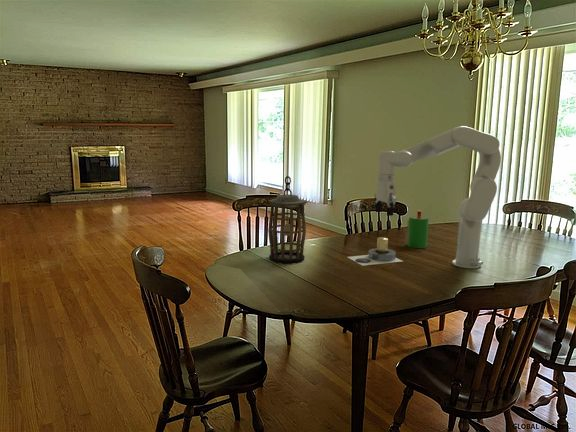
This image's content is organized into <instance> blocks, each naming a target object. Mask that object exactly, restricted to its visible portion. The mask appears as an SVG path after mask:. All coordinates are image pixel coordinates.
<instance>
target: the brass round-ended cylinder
mask: <svg viewBox="0 0 576 432" xmlns="http://www.w3.org/2000/svg"><path fill="white" fill-rule="evenodd" d="M376 240H377V241H376V248H377V253H384V254H385V253H387V249H389V248H388V245H389V238H388V237H381V236H380V237H377V239H376Z"/></svg>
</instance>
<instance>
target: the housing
mask: <svg viewBox="0 0 576 432" xmlns="http://www.w3.org/2000/svg"><path fill="white" fill-rule="evenodd" d="M367 255H368V257H369V258H370V259H372V260H376V261H393V260H395V258H397V256H396V255H397V253H396V251H395V250H393V249H389V248H388V249H387V253H385V254H384V253H377V247H376V248H371V249H368V254H367Z"/></svg>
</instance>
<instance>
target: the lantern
mask: <svg viewBox="0 0 576 432" xmlns="http://www.w3.org/2000/svg"><path fill="white" fill-rule="evenodd" d="M287 179H288V180H289V181H287ZM284 183H285V188H284V191H283V194H278V195H277V196H276V198H272V199H270V200H269V201H268V202H266V203H267V204H268V205H270V213H269V214H270V216H269V221H268V230H267V232H268V240H269V246H270V247H269V251H270V255H269V260H270V262H271V261H273V262H272V263H275V262H276V263H275V264H278V263H282V264H281V265H293V264H292V263H296V264H300V263H303V262H302V261H304V260H305V255H304V250H305V241H306V235H307V231H306V230H307V224H306V219H305V218H306V216H305V206H306V204H307V203H308V201H306V200H304V199H302V198H301V199H300V198H299V195H295V194H292V193H293V192H292V190H291V183H292V179H291V177H290V176H289V175H287V176H285V178H284ZM286 192H289V194H286ZM279 208H281V212H279ZM294 208H296V212H294ZM279 216H281V217H279ZM294 216H296V217H294ZM278 221H280V224H278ZM295 221H297V225H296V224H295V223H294V222H295ZM278 228H280V230H278ZM294 228H297V230H295V229H294ZM278 234H280V242H278V241H279V240H278V238H279V237H278ZM294 234H297V235H296V236H297V237H296V238H297V239H296V242H294ZM287 236H288V237H289V242H286V237H287ZM286 245H289V249H286ZM279 246H280V248H279ZM294 246H295V247H296V249H294Z"/></svg>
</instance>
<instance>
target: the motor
mask: <svg viewBox="0 0 576 432" xmlns="http://www.w3.org/2000/svg"><path fill="white" fill-rule="evenodd" d="M421 216H422V210H420V209H418V210H417V214H416V218H415V217H414V218H413V217H412V216H411V215H410V216H408V229H407V231H408V232H407V245H406V246H407V247H409V248H412V249H413V248H414V249H426V248H427V247H428V236H429V235H428V233H429V221H430V220H429V217H426V218H422V217H421Z"/></svg>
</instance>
